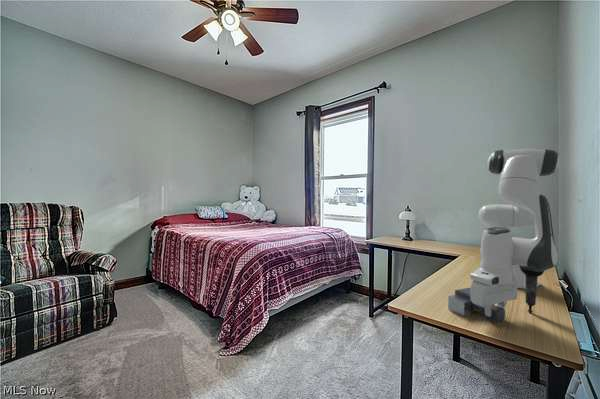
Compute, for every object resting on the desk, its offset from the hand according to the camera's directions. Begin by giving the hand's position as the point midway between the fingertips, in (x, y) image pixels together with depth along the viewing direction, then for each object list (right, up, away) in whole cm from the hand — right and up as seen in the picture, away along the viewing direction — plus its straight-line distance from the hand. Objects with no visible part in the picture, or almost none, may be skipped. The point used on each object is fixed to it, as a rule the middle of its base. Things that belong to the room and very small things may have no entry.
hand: (494, 314), depth 85 cm
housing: (-3, -2, +7) cm, 8 cm away
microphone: (+17, -2, +5) cm, 18 cm away
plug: (-2, -1, +5) cm, 6 cm away
